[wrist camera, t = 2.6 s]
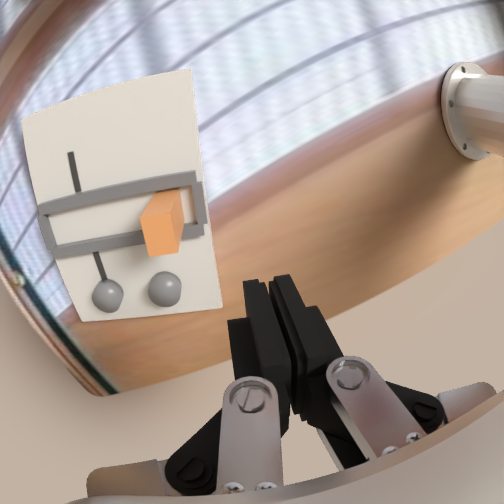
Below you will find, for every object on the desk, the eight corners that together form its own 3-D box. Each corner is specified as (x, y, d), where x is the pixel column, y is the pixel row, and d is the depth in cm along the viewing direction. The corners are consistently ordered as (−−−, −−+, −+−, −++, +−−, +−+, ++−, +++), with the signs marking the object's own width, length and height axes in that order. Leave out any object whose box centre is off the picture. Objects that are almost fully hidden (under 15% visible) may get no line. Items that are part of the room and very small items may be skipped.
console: (192, 72, 20) (189, 65, 17) (221, 296, 30) (223, 317, 27) (32, 117, 18) (12, 120, 15) (87, 310, 29) (78, 330, 26)
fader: (179, 188, 22) (170, 212, 17) (184, 220, 24) (178, 252, 18) (155, 192, 22) (139, 217, 17) (161, 223, 23) (149, 257, 18)
